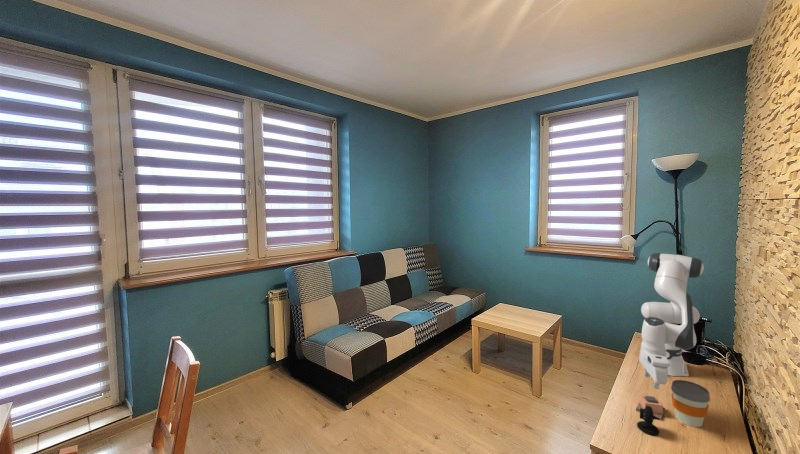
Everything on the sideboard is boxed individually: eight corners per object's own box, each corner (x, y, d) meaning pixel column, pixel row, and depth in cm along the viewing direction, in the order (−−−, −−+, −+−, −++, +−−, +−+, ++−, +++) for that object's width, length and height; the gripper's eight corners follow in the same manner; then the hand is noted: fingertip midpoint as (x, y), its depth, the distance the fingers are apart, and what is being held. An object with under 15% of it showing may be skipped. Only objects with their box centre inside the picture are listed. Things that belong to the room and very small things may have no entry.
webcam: (637, 420, 139) (638, 399, 139) (659, 428, 135) (660, 405, 134) (636, 430, 133) (637, 408, 133) (659, 438, 129) (660, 415, 128)
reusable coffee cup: (662, 410, 146) (664, 379, 145) (690, 410, 145) (692, 379, 144) (686, 430, 133) (688, 396, 132) (716, 430, 133) (719, 396, 132)
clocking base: (641, 401, 153) (641, 389, 152) (665, 410, 146) (665, 397, 145) (636, 410, 146) (636, 398, 146) (660, 420, 139) (661, 407, 139)
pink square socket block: (639, 402, 150) (639, 394, 150) (655, 405, 148) (656, 397, 148) (644, 411, 144) (645, 403, 144) (662, 414, 142) (662, 405, 141)
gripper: (636, 342, 155) (634, 369, 156) (653, 363, 136) (652, 393, 137) (651, 344, 153) (650, 371, 154) (671, 365, 134) (670, 396, 135)
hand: (651, 382), depth 145 cm, fingers open, 8 cm apart
